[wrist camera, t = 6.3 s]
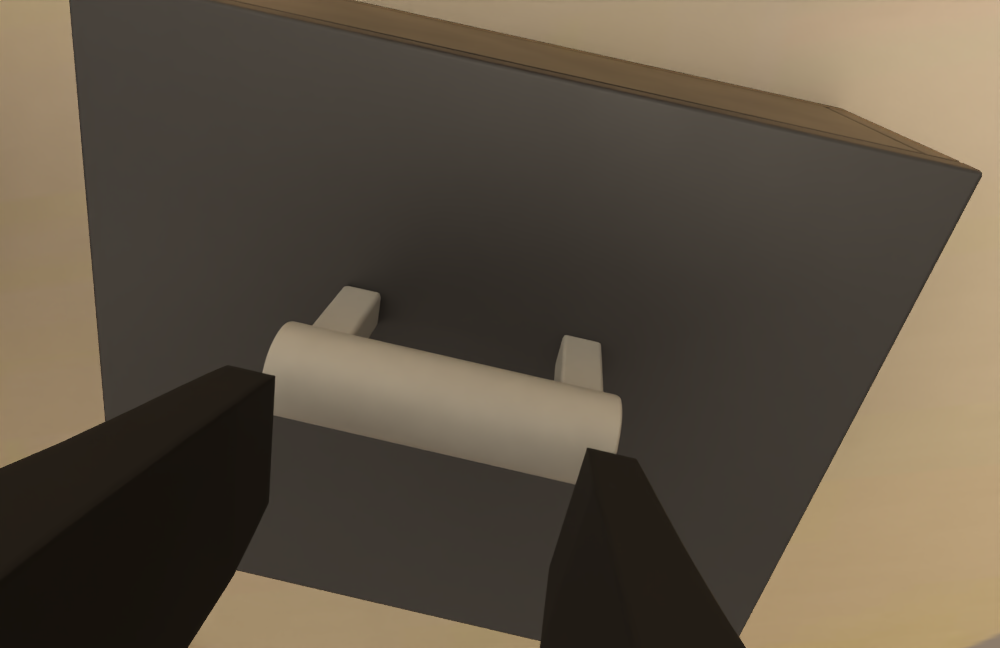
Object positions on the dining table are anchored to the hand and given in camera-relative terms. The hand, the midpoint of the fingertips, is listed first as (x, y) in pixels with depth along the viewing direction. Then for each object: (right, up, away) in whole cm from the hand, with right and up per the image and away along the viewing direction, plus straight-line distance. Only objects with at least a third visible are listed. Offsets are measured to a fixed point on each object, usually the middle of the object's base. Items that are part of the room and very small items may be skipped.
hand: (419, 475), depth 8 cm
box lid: (0, +1, +5) cm, 5 cm away
